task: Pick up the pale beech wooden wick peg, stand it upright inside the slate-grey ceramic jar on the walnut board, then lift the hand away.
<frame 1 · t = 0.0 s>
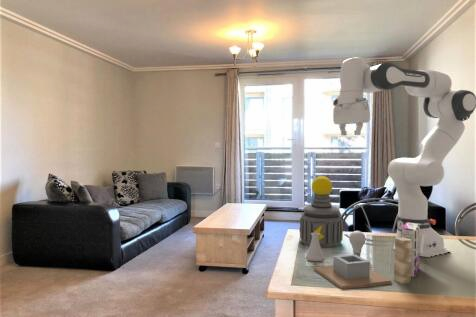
hand: (350, 135, 146), 48 cm above the table, tool pointing down, fingers open, 8 cm apart
decorative lamp: (320, 242, 169), on the table
candy bar box: (409, 272, 132), on the table
flask: (314, 259, 145), on the table
jar stand: (350, 276, 126), on the table
lightbulb: (356, 259, 145), on the table
beech wick peg: (402, 281, 122), on the table
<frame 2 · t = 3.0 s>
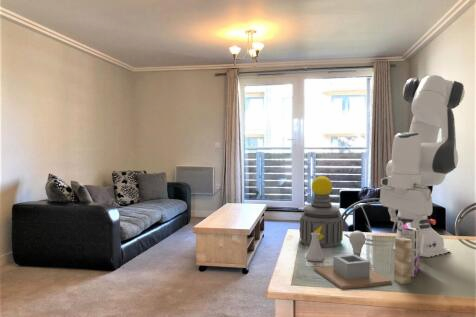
hand: (403, 224, 122), 19 cm above the table, tool pointing down, fingers open, 8 cm apart
nothing on the table moved.
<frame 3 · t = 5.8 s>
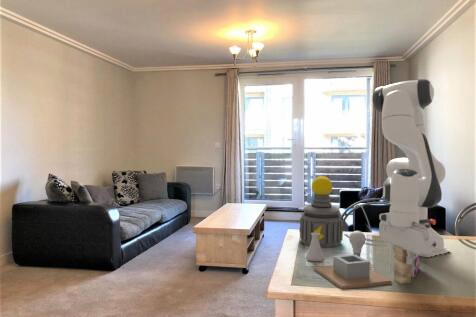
hand: (402, 261, 122), 7 cm above the table, tool pointing down, fingers closed on beech wick peg, 3 cm apart
beech wick peg: (402, 281, 122), on the table, touching gripper
everything else where it was.
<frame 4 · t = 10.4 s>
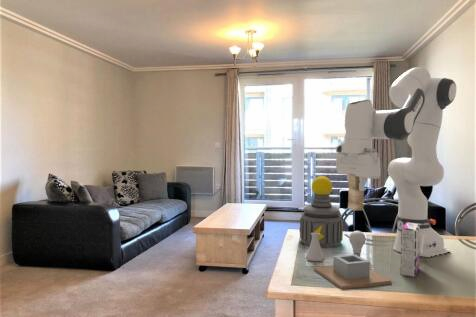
hand: (356, 189, 125), 30 cm above the table, tool pointing down, fingers closed on beech wick peg, 3 cm apart
beech wick peg: (355, 209, 125), point 23 cm above the table, touching gripper
everything else where it was.
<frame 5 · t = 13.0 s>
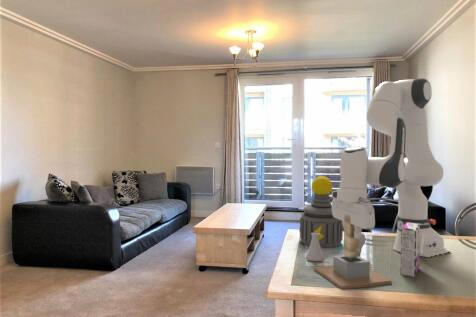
hand: (351, 236, 126), 14 cm above the table, tool pointing down, fingers closed on beech wick peg, 3 cm apart
beech wick peg: (350, 255, 126), point 7 cm above the table, touching gripper
everything else where it was.
when the fingers open (9 cm above the table, at t = 15.2 s): beech wick peg drops 1 cm, resting on jar stand.
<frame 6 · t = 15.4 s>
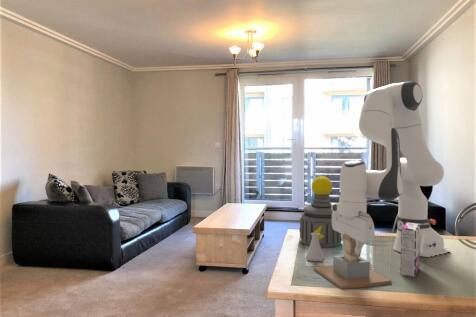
hand: (351, 249, 126), 9 cm above the table, tool pointing down, fingers open, 5 cm apart
beech wick peg: (350, 273, 126), point 1 cm above the table, touching jar stand
everything else where it was.
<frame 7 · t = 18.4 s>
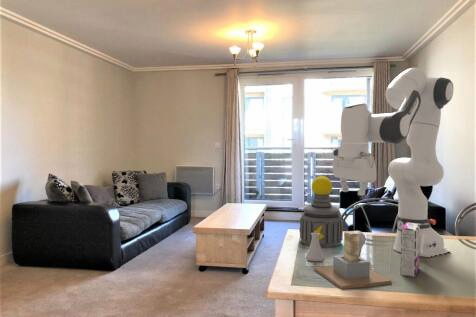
hand: (352, 193, 125), 28 cm above the table, tool pointing down, fingers open, 8 cm apart
nothing on the table moved.
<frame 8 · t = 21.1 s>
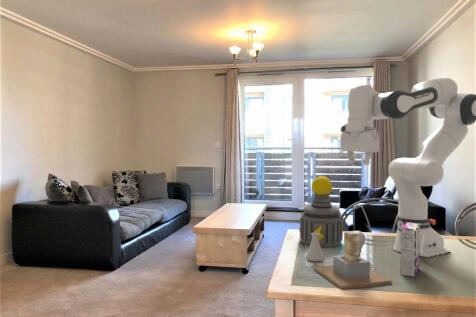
hand: (358, 163, 142), 37 cm above the table, tool pointing down, fingers open, 8 cm apart
nothing on the table moved.
at the end: beech wick peg 0.0 cm off-centre on the jar stand, point 1.0 cm above the jar stand's base; beech wick peg tilted 0°; the gripper is holding nothing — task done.
